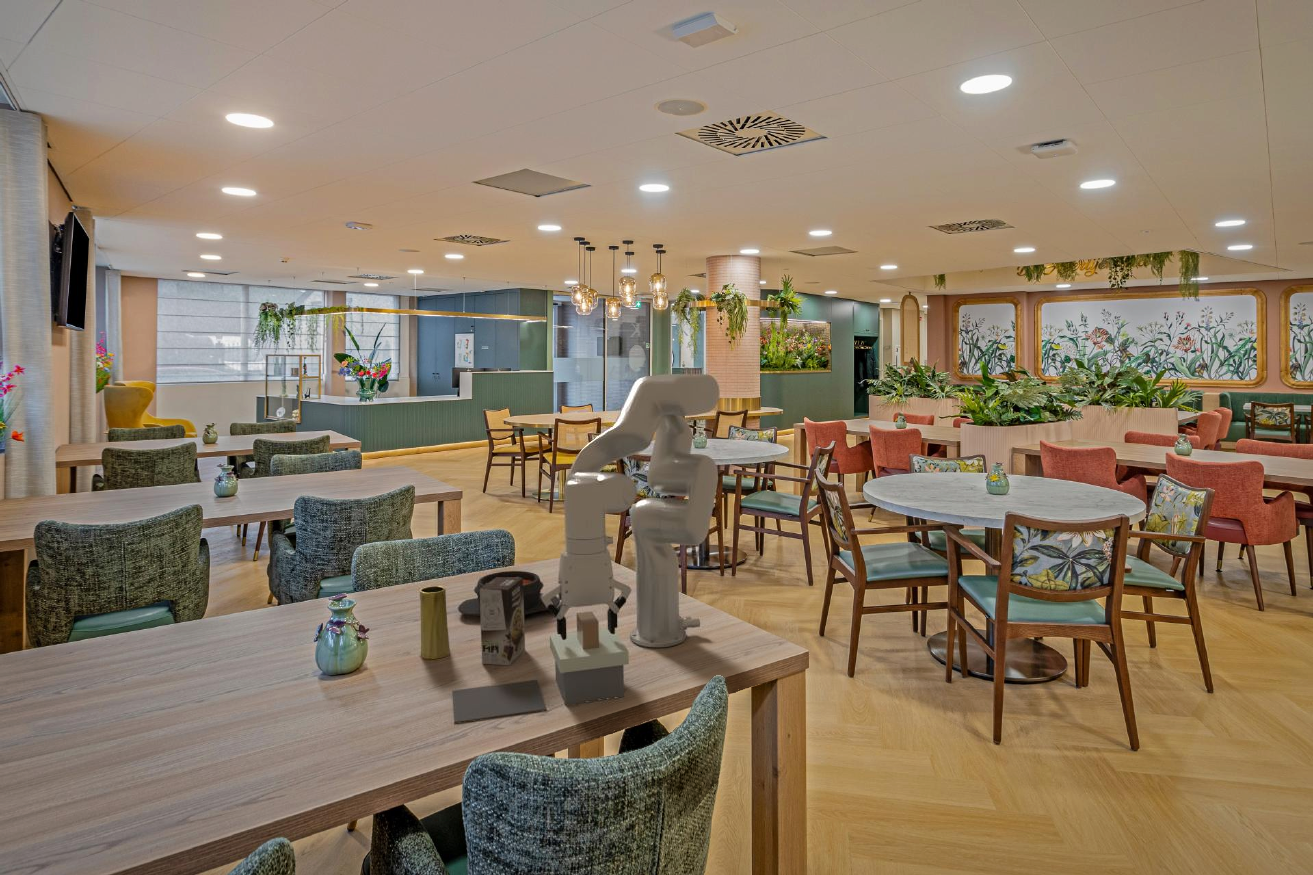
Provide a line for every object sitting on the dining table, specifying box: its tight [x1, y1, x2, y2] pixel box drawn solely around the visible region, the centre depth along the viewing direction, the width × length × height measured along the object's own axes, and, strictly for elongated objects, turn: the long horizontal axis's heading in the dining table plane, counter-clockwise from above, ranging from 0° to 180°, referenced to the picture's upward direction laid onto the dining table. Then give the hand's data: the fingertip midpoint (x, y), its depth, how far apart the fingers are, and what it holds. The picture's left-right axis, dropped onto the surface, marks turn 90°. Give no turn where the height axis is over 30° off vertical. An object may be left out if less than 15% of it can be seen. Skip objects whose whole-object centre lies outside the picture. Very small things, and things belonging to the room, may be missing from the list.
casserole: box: [457, 570, 561, 617], centre depth 189 cm, size 25×19×8 cm
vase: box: [419, 585, 451, 660], centre depth 162 cm, size 6×6×14 cm
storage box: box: [554, 660, 625, 706], centre depth 144 cm, size 11×11×8 cm
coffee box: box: [479, 577, 526, 666], centre depth 160 cm, size 9×6×16 cm
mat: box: [452, 679, 547, 724], centre depth 140 cm, size 16×13×1 cm
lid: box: [549, 611, 630, 673], centre depth 144 cm, size 13×13×8 cm
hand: (587, 634), depth 143 cm, fingers open, 8 cm apart
